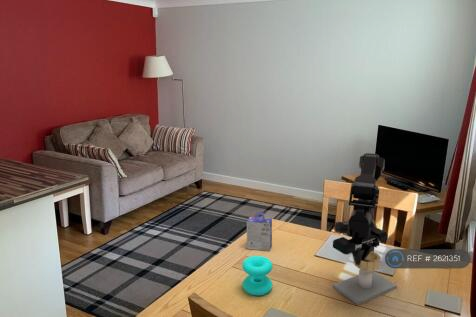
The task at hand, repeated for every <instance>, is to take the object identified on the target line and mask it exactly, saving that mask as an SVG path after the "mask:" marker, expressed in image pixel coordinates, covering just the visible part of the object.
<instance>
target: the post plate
mask: <svg viewBox="0 0 476 317" xmlns="http://www.w3.org/2000/svg"><path fill="white" fill-rule="evenodd" d="M358 270H359V271H358V274H356V275H355V276H352V277H350V278H347V279H345V280H342V281H339V282H336V283H334V284H332V288H333V289H334V290H336V291H337V292H339V293H340V294H341V295H343V296H344V297H345V298H347V299H348V300H350V301H351V302H352V303H354V304H355V305H357V306H359V305H361V304H363V303H366V302H368V301H370V300H372V299H376V298H377V297H380V296H382V295H384V294H387V293H388V292H391V291H394V290H395V289H397V288H398V287H397V286H398V285H397V284H396V283H394V282H393V281H391V280H389V279H387V278H385V277H383V276H382V275H380V274H379V273H377V272H375V271H366V270H363V269H358Z"/></svg>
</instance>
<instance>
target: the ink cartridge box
mask: <svg viewBox="0 0 476 317" xmlns="http://www.w3.org/2000/svg"><path fill="white" fill-rule="evenodd" d="M259 215H261V216H259ZM272 246H273V219H272V217H265V213H264V212H255V216H249V217H248V219H247V220H246V249H247V250H254V251H257V250H258V251H267V252H269V251H271V249H272Z"/></svg>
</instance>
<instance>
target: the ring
mask: <svg viewBox="0 0 476 317" xmlns="http://www.w3.org/2000/svg"><path fill="white" fill-rule="evenodd" d="M367 260H370V261H367ZM353 264H354V266H355V267H357V268H358V270H360V269H363V270H366V271H373V272H375V271H377V270H379V269H380V266H381V256H380V254H378V253H376V252H375V251H374V252H373V251H371V252H370V253H369V255H368V256H367V257H366V259H365V260H363V259H361V261H360V264H359V265H357V264H356V263H355V260H354V259H353Z"/></svg>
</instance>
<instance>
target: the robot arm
mask: <svg viewBox="0 0 476 317" xmlns="http://www.w3.org/2000/svg"><path fill="white" fill-rule="evenodd" d="M358 168H359V169H360V174H359V175H358V176H356V177H355V178H354V180H353V183H351V185H350V191H349V192H350V193H349V199H348V206H353V207H352V211H351V214H350V216H349V219H348V220H346V221H336V222H334V231H335V232H336V233H339V235H340V234H341V235H342V234H346V236H347V237H349V239H348V238H347V237H344V236H342V237H338V238H335V239H333V241H332V248H333V249H334V250H336V251H338V252H340V253H342V254H344V255H349V254H352V258H353V261H354V260H355V263H356V264H357V265H359V264H360V261H361V259H363V260H365V259H366V257H367V256H368V255H369V253H370V252H371V251H373V252H375V248H378V247H379V246H380V243H384V242H386V241H387V242H388V233H387V231H385V230H383V229H381V228H378V226H377V224H376V222H375V219H374V214H375V213H374V212H375V209H376V205H379V198H380V188H379V186H378V185H377V182H378V180H379V179H380V177H381V176H382V173H383V171H385V157H381V156H380V155H379V154H377V153H370V152H368V153H367V152H366V153H363V155H360V156H359V161H358ZM350 237H351V238H350ZM367 261H370V260H367Z"/></svg>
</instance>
